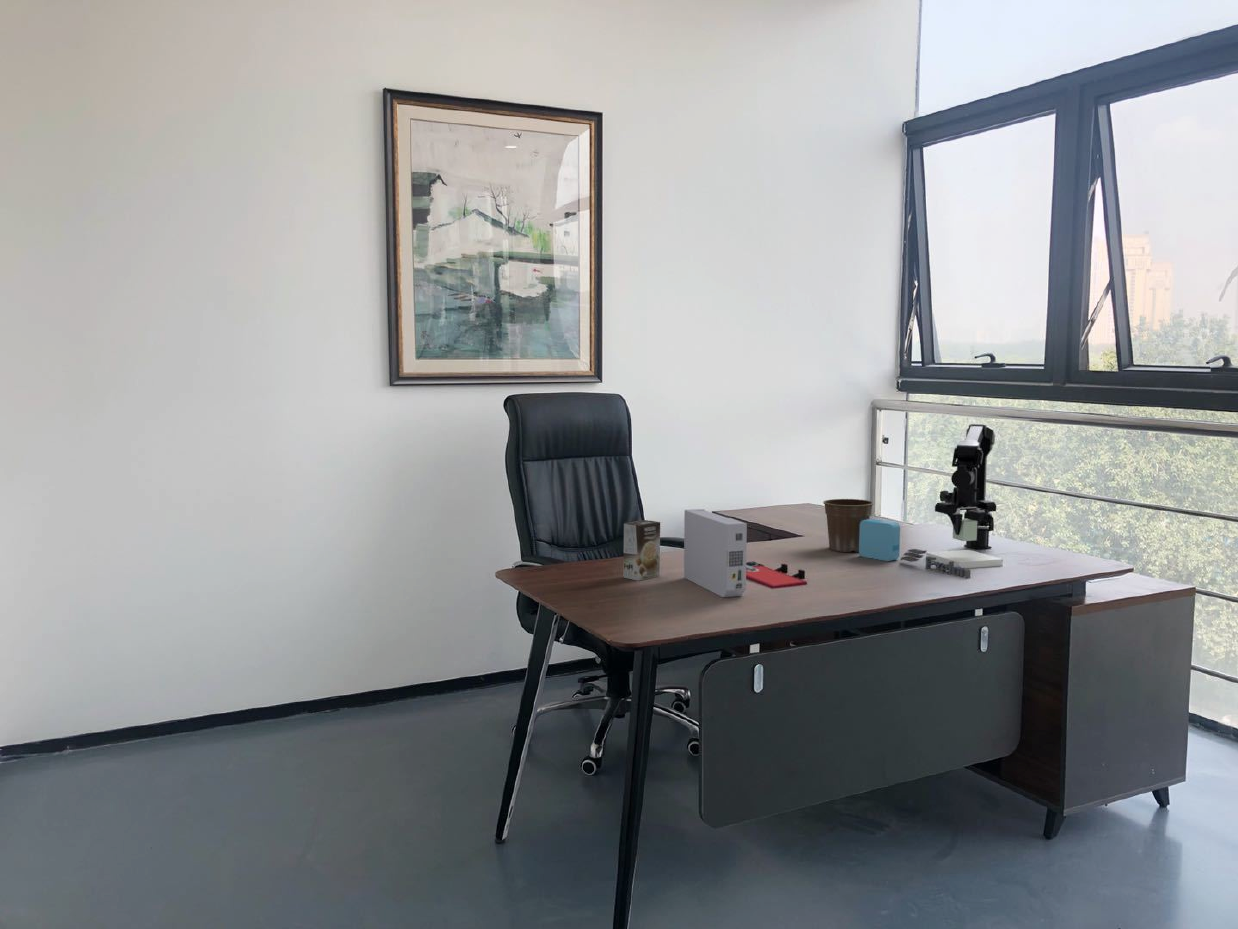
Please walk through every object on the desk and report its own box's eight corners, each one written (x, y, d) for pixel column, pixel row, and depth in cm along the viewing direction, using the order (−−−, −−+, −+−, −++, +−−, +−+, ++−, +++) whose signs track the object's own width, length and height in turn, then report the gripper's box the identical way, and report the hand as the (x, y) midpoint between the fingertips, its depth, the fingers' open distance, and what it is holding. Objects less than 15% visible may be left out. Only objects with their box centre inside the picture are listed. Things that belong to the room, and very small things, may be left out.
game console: (702, 576, 268) (702, 508, 266) (746, 598, 243) (747, 523, 241) (683, 578, 266) (684, 509, 264) (726, 600, 241) (727, 524, 239)
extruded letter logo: (899, 563, 288) (900, 546, 287) (903, 563, 288) (904, 545, 288) (966, 579, 266) (967, 560, 266) (970, 578, 267) (970, 559, 266)
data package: (899, 560, 292) (900, 522, 291) (891, 562, 289) (893, 524, 288) (866, 554, 301) (867, 518, 299) (858, 556, 298) (859, 519, 296)
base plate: (968, 555, 299) (968, 549, 298) (1002, 565, 283) (1002, 559, 283) (926, 558, 294) (926, 552, 294) (958, 568, 279) (958, 562, 279)
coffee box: (638, 581, 262) (638, 525, 260) (622, 577, 267) (622, 522, 265) (660, 576, 268) (660, 521, 267) (644, 573, 273) (644, 519, 271)
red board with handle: (758, 563, 287) (716, 568, 281) (758, 554, 287) (716, 559, 280) (817, 585, 260) (773, 591, 254) (818, 575, 260) (773, 581, 253)
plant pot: (815, 550, 307) (816, 502, 305) (831, 543, 320) (832, 497, 319) (863, 556, 298) (865, 506, 297) (878, 548, 312) (879, 500, 310)
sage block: (966, 537, 291) (966, 518, 290) (976, 540, 286) (977, 521, 286) (952, 538, 290) (953, 519, 289) (962, 541, 285) (963, 521, 284)
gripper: (974, 480, 297) (973, 528, 298) (924, 482, 291) (923, 531, 293) (998, 484, 286) (996, 534, 288) (947, 487, 281) (945, 537, 282)
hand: (964, 534), depth 288 cm, fingers closed on sage block, 5 cm apart
